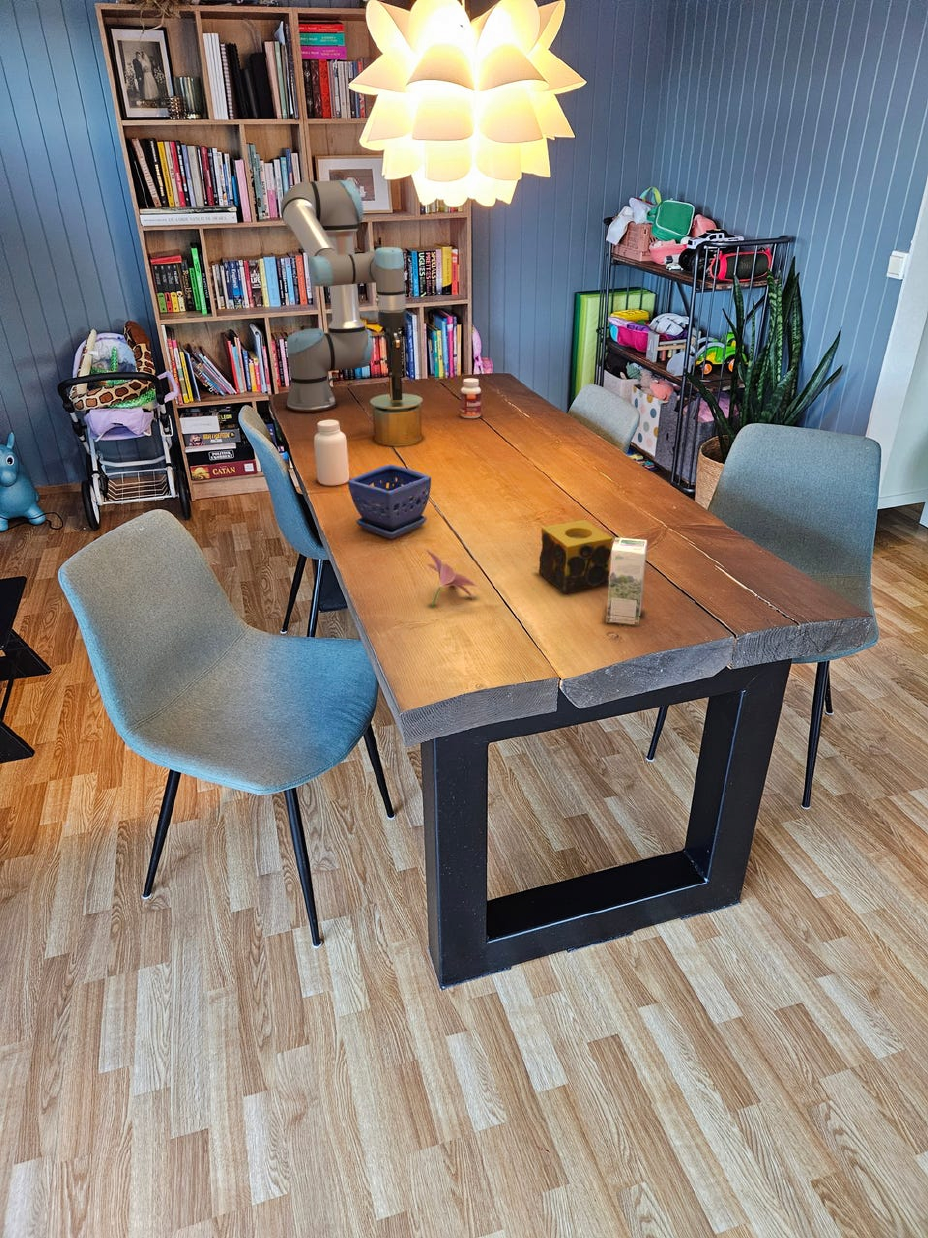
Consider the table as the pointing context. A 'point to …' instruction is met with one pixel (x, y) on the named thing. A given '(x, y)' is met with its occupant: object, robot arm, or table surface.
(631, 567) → the syrup box
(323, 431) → the pill bottle
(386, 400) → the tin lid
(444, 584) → the lily
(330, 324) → the robot arm
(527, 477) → the table surface
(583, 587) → the candle
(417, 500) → the flower pot
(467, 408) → the pill bottle
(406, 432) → the tin
